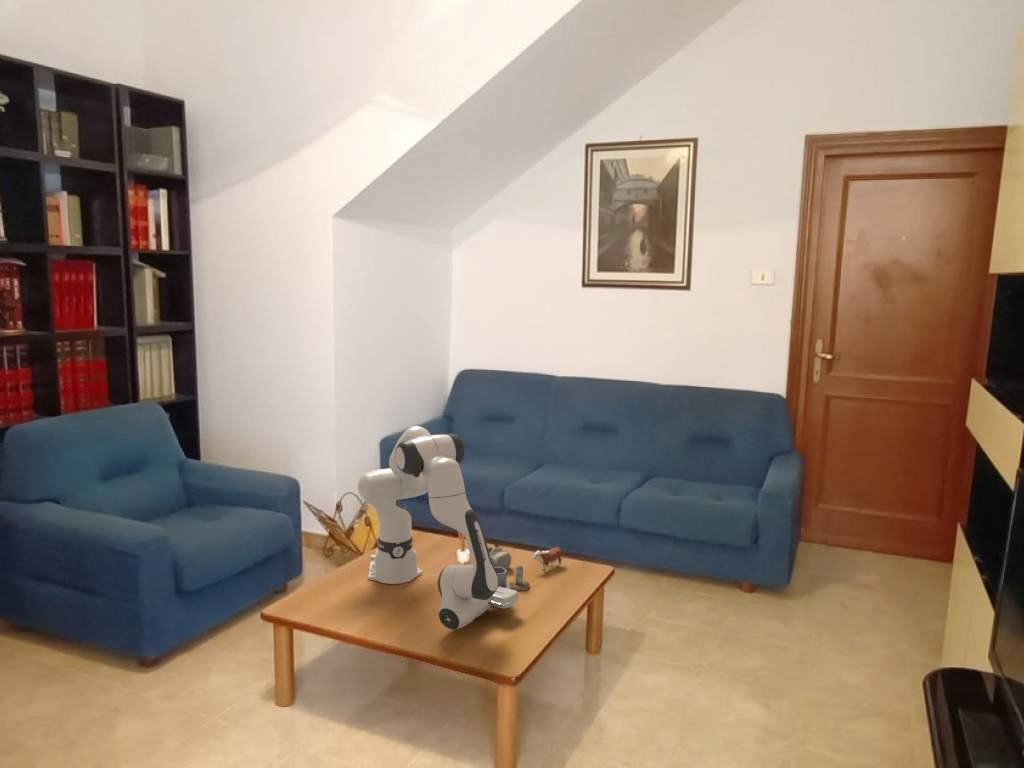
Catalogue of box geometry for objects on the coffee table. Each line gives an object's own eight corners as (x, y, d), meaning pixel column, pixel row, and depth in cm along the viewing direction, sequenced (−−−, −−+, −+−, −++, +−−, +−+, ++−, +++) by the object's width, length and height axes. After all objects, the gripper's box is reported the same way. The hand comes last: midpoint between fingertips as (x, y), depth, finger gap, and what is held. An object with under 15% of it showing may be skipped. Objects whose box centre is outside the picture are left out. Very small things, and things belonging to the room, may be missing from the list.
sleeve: (485, 600, 252) (486, 568, 250) (503, 598, 254) (503, 566, 252) (490, 607, 246) (491, 574, 245) (508, 605, 248) (509, 572, 247)
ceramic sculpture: (496, 551, 271) (470, 542, 282) (496, 575, 272) (471, 565, 283) (519, 545, 278) (493, 536, 289) (519, 569, 278) (493, 559, 290)
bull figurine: (530, 572, 276) (530, 550, 275) (556, 563, 285) (557, 542, 284) (538, 576, 273) (539, 554, 271) (565, 566, 282) (565, 545, 280)
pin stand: (506, 583, 265) (506, 562, 264) (525, 581, 267) (525, 560, 266) (512, 591, 259) (513, 570, 257) (532, 589, 261) (532, 568, 260)
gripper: (506, 597, 232) (527, 581, 244) (449, 583, 242) (472, 568, 254) (505, 617, 233) (526, 600, 245) (449, 602, 243) (472, 586, 255)
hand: (498, 584), depth 250 cm, fingers closed on sleeve, 6 cm apart
